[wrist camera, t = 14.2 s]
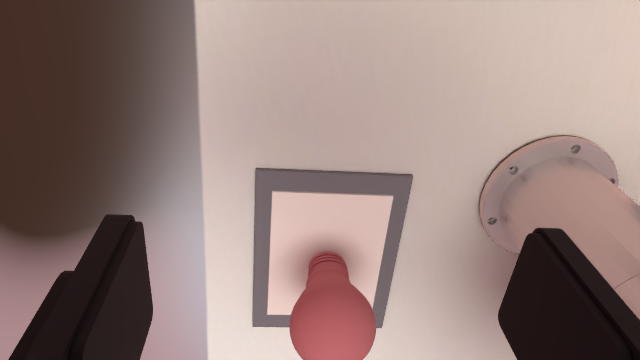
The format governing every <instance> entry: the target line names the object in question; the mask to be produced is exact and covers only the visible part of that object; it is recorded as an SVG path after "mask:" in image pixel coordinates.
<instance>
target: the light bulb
mask: <svg viewBox="0 0 640 360" xmlns="http://www.w3.org/2000/svg"><path fill="white" fill-rule="evenodd" d="M308 269H309V271H308V279H307V282H306V289H305V290H304V291H303V292H302V294H301V295H300V297H299V299H298V300H297V302H296V303H295V305H294V307H293V310H292V313H291V317H290V336H291V340H292V343H293V345H294V347H295V350H296V351H297V353H298V354H299V355H300V357H301V358H302V359H303V360H363V359H364V358H365V357H366V355H367V354H368V353H369V351H370V349H371V347H372V345H373V342H374V339H375V334H376V320H375V315H374V312H373V309H372V307H371V305H370V303H369V302H368V300H367V299H366V297H365V296H364V295H363V294H362V293H361V292H360V291H359V290H358V289H357V288H356V287H355V286H354V285H352V284H351V283H350V280H349V274H348V270H347V265H346V263H345V261H344V259H343V258H342V257H341V256H339V255H338V254H335V253H331V252H324V253H320V254H318V255H316V256H314V257H313V258H312V259H311V261H310V263H309V267H308Z"/></svg>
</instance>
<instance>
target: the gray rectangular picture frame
mask: <svg viewBox="0 0 640 360" xmlns="http://www.w3.org/2000/svg"><path fill="white" fill-rule="evenodd" d="M412 179H413V176H412V175H410V174H386V173H362V172H337V171H313V170H289V169H264V168H256V180H255V230H254V280H253V327H290V317H291V313H292V310H293V307H294V305H295V303H296V302H297V300H298V299H299V297H300V295H301V294H302V292H303V291H304V290H305V289H306V282H307V279H308V271H309V269H308V267H309V263H310V261H311V259H312V258H313V257H314V256H316V255H318V254H320V253H324V252H331V253H335V254H338V255H339V256H341V257H342V258H343V259H344V261H345V263H346V265H347V270H348V274H349V280H350V283H351V284H352V285H354V286H355V287H356V288H357V289H358V290H359V291H360V292H361V293H362V294H363V295H364V296H365V297H366V299H367V300H368V302H369V303H370V305H371V307H372V309H373V312H374V315H375V320H376V328H382V325H383V320H384V315H385V310H386V305H387V301H388V296H389V291H390V286H391V281H392V276H393V271H394V267H395V262H396V257H397V252H398V247H399V242H400V237H401V233H402V228H403V223H404V218H405V213H406V208H407V203H408V199H409V194H410V189H411V184H412Z"/></svg>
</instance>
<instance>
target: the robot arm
mask: <svg viewBox="0 0 640 360" xmlns="http://www.w3.org/2000/svg"><path fill="white" fill-rule="evenodd" d="M479 206H480V218H481V221H482V224H483V226H484V228H485V230H486V231H487V233H488V235H489V236H490V237H491V239H492V240H493V241H494V242H495V243H496V244H498V245H499V246H500V247H502V248H504V249H506V250H508V251H510V252H514V253H518V254H519V257H518V260H517V262H516V265H515V268H514V271H513V273H512V276H511V279H510V282H509V284H508V287H507V290H506V293H505V295H504V298H503V301H502V304H501V306H500V309H499V313H498V320H499V324H500V327H501V329H502V331H503V333H504V334H505V336H506V338H507V340H508V342H509V344H510V346H511V348H512V350H513V352H514V354H515V356H516V358H517V360H640V206H639V205H638V204H636V203H635V202H634V201H633V200H632V199H631V198H629V197H628V196H627V195H626V194H625V193H624V192H622V191H621V190H620V189H619V188H618V174H617V170H616V167H615V164H614V162H613V161H612V159H611V158H610V157H609V155H608V154H607V153H606V152H605V151H603V150H602V149H601V148H600V147H599V146H597V145H595V144H594V143H592V142H590V141H588V140H585V139H582V138H579V137H571V136H558V137H550V138H546V139H542V140H538V141H536V142H533V143H531V144H529V145H526V146H524V147H522V148H521V149H519V150H518V151H516V152H514V153H513V154H511V155H510V156H509V157H508V158H507V159H505V160H504V161H503V162H502V163H501V164H500V165H499V166H498V167H497V168H496V170H495V171H494V172H493V173H492V175H491V176H490V178H489V179H488V181H487V183H486V184H485V187H484V189H483V192H482V195H481V200H480V205H479ZM152 315H153V304H152V295H151V287H150V279H149V271H148V262H147V254H146V245H145V238H144V229H143V224H142V222H136V221H135V219H134V217H133V216H132V215H111V214H110V215H109V214H108V215H106V216H105V217H104V219H103V220H102V222H101V224H100V226H99V227H98V229H97V231H96V233H95V235H94V236H93V238H92V240H91V242H90V244H89V245H88V247H87V249H86V251H85V252H84V254H83V256H82V258H81V259H80V261H79V263H78V265H77V266H76V268H75V270H74V271H64V272H62V273H61V274H60V275H59V277H58V278H57V279H56V281H55V282H54V284H53V286H52V287H51V289H50V291H49V293H48V294H47V296H46V298H45V299H44V301H43V303H42V304H41V306H40V308H39V309H38V311H37V313H36V314H35V316H34V318H33V319H32V321H31V323H30V324H29V326H28V328H27V329H26V331H25V333H24V334H23V336H22V338H21V339H20V341H19V343H18V344H17V346H16V348H15V350H14V351H13V353H12V355H11V356H10V358H9V360H140V357H141V353H142V351H143V347H144V344H145V341H146V338H147V335H148V331H149V328H150V325H151V321H152Z"/></svg>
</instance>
